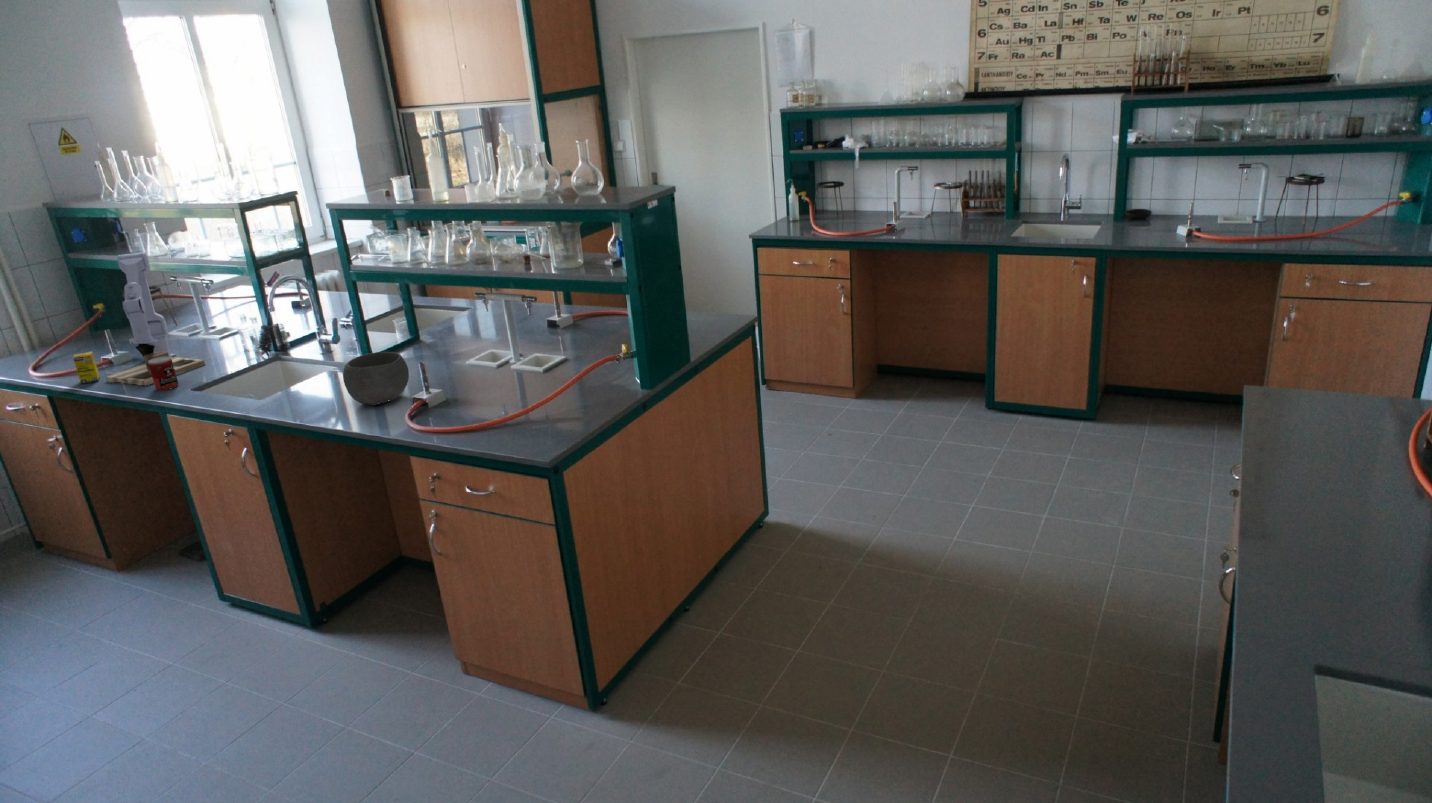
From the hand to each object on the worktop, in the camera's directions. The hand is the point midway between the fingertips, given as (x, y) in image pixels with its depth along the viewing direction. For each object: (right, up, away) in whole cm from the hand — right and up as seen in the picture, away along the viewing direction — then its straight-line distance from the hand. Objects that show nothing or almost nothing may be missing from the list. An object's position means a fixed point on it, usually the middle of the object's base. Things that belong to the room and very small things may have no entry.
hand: (150, 361), depth 365 cm
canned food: (+17, -10, -17) cm, 26 cm away
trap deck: (+2, -4, +1) cm, 5 cm away
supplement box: (-20, -8, -4) cm, 22 cm away
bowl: (+108, -16, -46) cm, 118 cm away
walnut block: (+4, -3, -1) cm, 5 cm away
